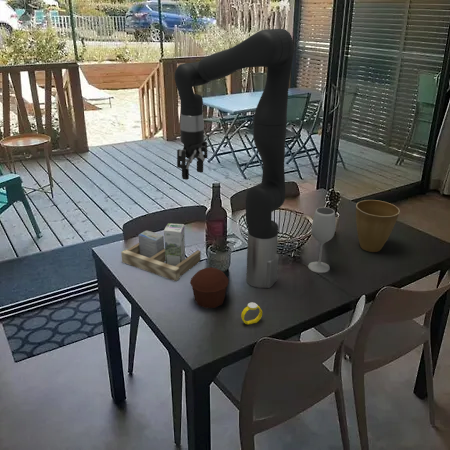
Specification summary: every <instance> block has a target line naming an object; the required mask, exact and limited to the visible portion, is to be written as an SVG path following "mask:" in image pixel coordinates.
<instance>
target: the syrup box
mask: <svg viewBox="0 0 450 450" xmlns="http://www.w3.org/2000/svg"><path fill="white" fill-rule="evenodd" d="M163 236H164V249H165V260H166V261H165V263H166V264H169V265H172V266H176V265H178V264H179V263H180V262H182V261H183V260H185V259H186V250H185V248H186V247H185V244H186V241H185V224H183V223H171V222H170V223H169V222H168V223H167V224H166V226H165V228H164V229H163Z"/></svg>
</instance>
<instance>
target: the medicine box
mask: <svg viewBox="0 0 450 450" xmlns="http://www.w3.org/2000/svg"><path fill="white" fill-rule="evenodd" d="M137 236H138V243H139V249H140V255H143V256H146V257H149V258H151V257H152V256H154V255H155V254H157V253H159V252H160V251H162V250H163V249H165V239H164V234H159V233H156V232H155V231H154V232H153V231H150V230H144V231H143V232H141V233H139V234H138V235H137Z"/></svg>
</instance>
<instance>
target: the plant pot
mask: <svg viewBox="0 0 450 450" xmlns="http://www.w3.org/2000/svg"><path fill="white" fill-rule="evenodd" d="M400 212H401V210H400V208H399V207H397V206H396V205H394V204H393V203H389V202H387V201H384V200H383V201H382V200H376V199H364V200H360V201H358V202H357V203H356V205H355V221H356V222H355V223H356V224H355V225H356V232H357V238H358V243H359V246H360V248H361V249H362V250H363V251H366V252H370V253H377V252H380V251H382V249H383V247H384V246H385V244H386V242H387V241H388V239H389V237H390V236H391V234H392V233H393V232H392V231H393V230H394V227H395V225H396V222H397V220H398V217H399V215H400Z"/></svg>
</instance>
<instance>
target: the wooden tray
mask: <svg viewBox="0 0 450 450" xmlns="http://www.w3.org/2000/svg"><path fill="white" fill-rule="evenodd" d="M120 254H121V263H123V264H126V265H129V266H131V267H135V268H138V269H140V270H143V271H145V272H149V273H152V274H154V275H156V276H159V277H162V278H166V279H169V280H172V281H173V282H177V281H179V280H180V278H181V277H182V276H183V275H184V274H186V273H187V272H188V271H190V270H191V269H193V268H194V267H195V266H196V265H198V264H199V263H200V262H201V261H202V260H201V259H202V257H201V250H199V249H198V250H195V251H194V252H193V253H191V254H190V255H189V256H187V257H185V260H183V261H182V262H180V263H179V264H178V265H176V266H172V265H169V264H166V260H165V248H164V249H163V250H162V251H160V252H159V253H157V254H155V255H154V256H152V257H151V258H149V257H146V256H143V255H140V249H139V242H137V243H136V244H134V245H132V246H131V247H129V248H128V249H124V250H123V251H121V253H120ZM200 260H201V261H200ZM199 261H200V262H199ZM198 262H199V263H198ZM197 263H198V264H197ZM193 266H194V267H193ZM189 269H190V270H189Z"/></svg>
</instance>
